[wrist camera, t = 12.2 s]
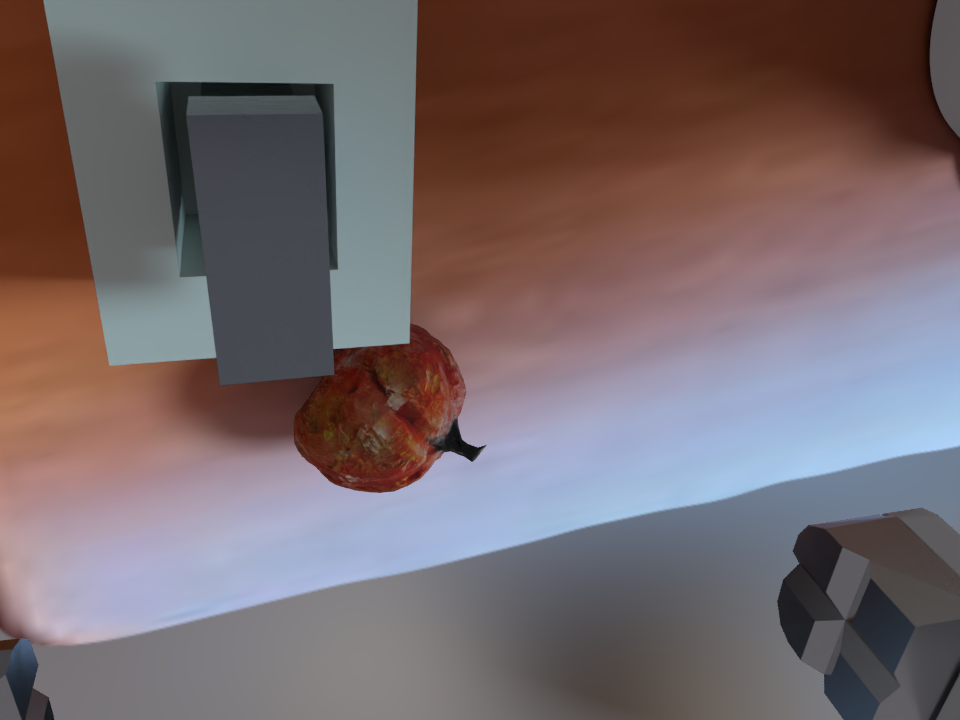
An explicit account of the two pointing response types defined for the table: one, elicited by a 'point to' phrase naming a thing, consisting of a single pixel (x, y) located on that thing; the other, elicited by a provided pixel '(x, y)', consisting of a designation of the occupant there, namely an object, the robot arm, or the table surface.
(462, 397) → the pomegranate
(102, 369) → the table surface
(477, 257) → the table surface
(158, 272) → the well block
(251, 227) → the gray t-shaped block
